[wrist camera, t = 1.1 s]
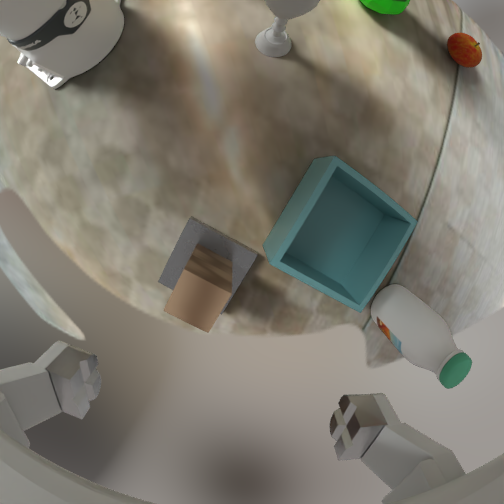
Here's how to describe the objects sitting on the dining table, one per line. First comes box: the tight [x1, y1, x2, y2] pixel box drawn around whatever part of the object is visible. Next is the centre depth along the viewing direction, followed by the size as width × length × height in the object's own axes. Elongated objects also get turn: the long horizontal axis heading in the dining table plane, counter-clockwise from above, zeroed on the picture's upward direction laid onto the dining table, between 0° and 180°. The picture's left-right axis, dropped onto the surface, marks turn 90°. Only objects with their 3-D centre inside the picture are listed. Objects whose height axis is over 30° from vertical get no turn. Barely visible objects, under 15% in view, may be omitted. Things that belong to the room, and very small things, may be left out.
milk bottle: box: [371, 284, 472, 389], centre depth 32 cm, size 8×8×20 cm
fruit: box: [447, 33, 482, 67], centre depth 26 cm, size 7×7×8 cm
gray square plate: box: [158, 216, 258, 314], centre depth 35 cm, size 10×10×6 cm
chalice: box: [255, 0, 320, 57], centre depth 21 cm, size 7×7×18 cm
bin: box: [263, 156, 418, 313], centre depth 34 cm, size 14×14×8 cm
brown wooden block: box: [163, 243, 233, 333], centre depth 32 cm, size 5×5×10 cm
